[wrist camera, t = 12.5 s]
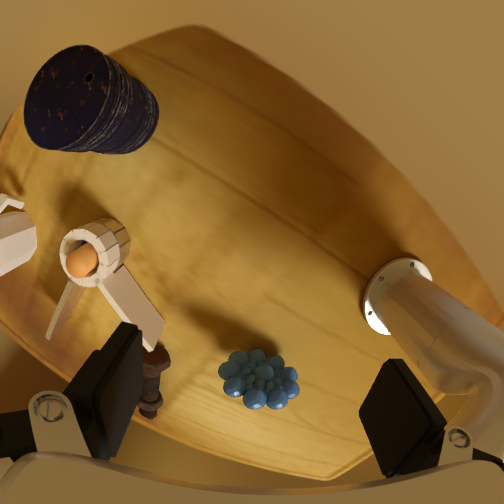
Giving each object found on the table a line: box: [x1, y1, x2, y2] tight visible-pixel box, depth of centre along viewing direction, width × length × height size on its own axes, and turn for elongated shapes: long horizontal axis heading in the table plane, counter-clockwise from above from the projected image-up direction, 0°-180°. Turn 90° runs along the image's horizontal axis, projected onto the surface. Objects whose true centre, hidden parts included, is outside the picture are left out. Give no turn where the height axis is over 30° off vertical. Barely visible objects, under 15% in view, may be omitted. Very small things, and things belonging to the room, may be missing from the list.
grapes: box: [218, 349, 300, 410], centre depth 36 cm, size 12×7×12 cm, turn 68°
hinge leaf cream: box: [59, 223, 166, 352], centre depth 34 cm, size 17×7×7 cm, turn 30°
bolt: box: [137, 345, 171, 419], centre depth 40 cm, size 6×5×15 cm
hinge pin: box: [65, 242, 99, 279], centre depth 32 cm, size 3×3×9 cm
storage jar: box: [24, 45, 159, 154], centre depth 24 cm, size 10×10×15 cm
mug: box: [0, 193, 37, 276], centre depth 30 cm, size 12×9×10 cm
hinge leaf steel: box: [45, 217, 130, 340], centre depth 33 cm, size 7×19×7 cm, turn 141°
